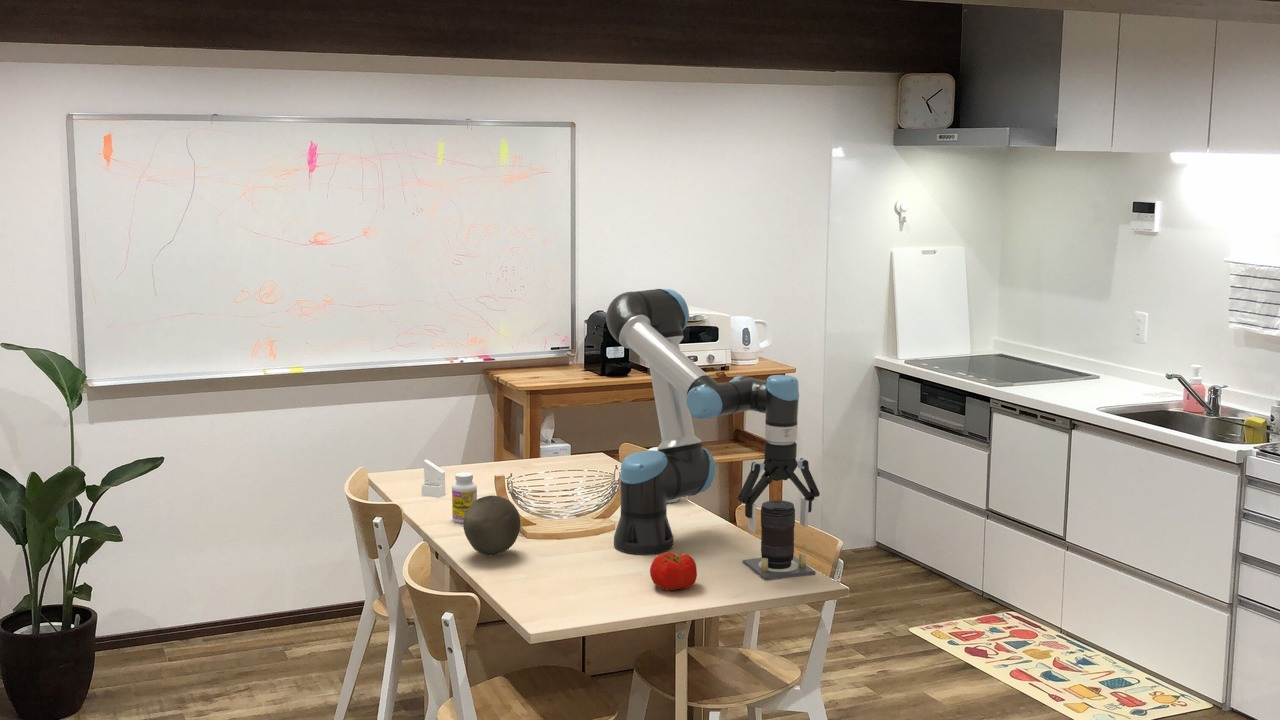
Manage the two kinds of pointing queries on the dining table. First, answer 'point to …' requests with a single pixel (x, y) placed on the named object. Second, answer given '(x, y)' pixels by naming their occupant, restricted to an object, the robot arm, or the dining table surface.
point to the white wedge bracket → (433, 480)
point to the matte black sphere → (491, 525)
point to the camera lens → (777, 533)
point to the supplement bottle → (462, 495)
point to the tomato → (673, 571)
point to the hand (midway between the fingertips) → (777, 528)
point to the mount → (766, 573)
